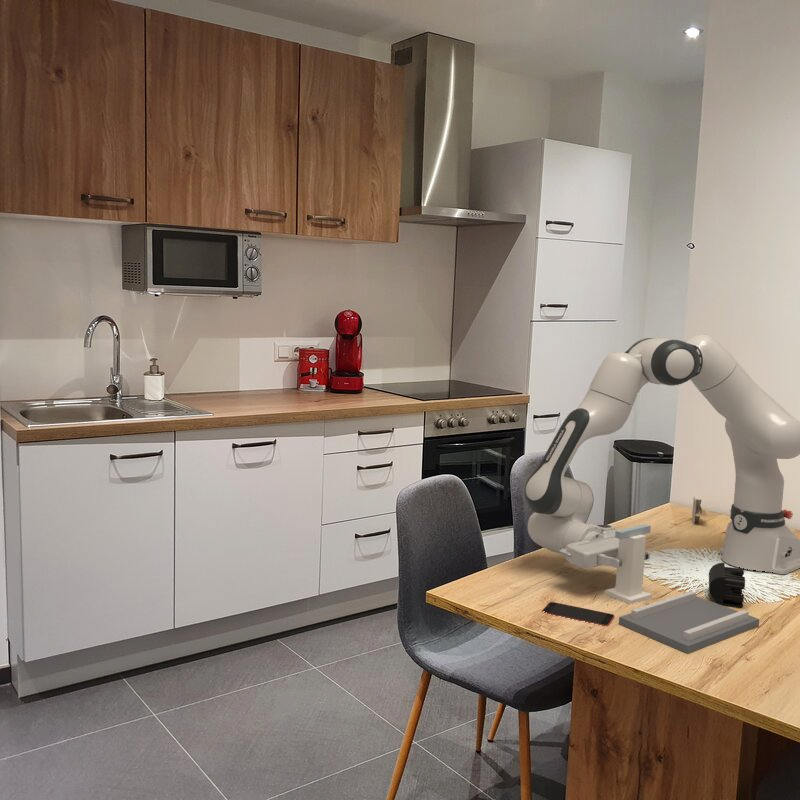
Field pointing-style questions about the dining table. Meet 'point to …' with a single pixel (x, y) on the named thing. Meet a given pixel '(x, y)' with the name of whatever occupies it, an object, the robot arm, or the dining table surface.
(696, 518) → the architectural model
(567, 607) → the smartphone
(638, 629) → the plate
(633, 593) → the stand
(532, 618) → the dining table surface
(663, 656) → the dining table surface
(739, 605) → the black rounded block
